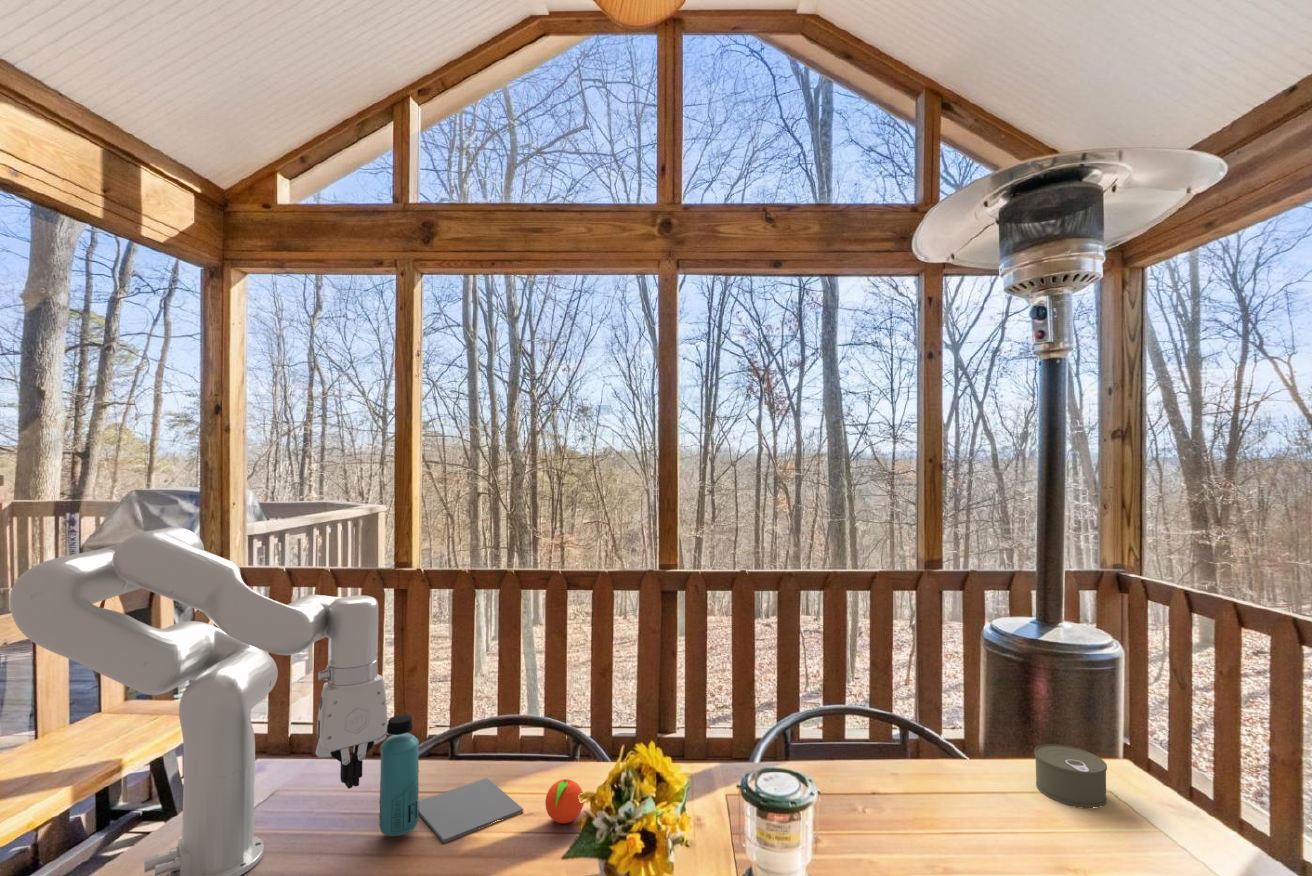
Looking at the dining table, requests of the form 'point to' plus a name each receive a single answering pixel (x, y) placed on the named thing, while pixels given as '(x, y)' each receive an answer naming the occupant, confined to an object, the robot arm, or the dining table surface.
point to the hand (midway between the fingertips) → (351, 783)
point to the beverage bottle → (399, 778)
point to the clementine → (564, 801)
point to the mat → (466, 809)
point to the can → (1070, 775)
